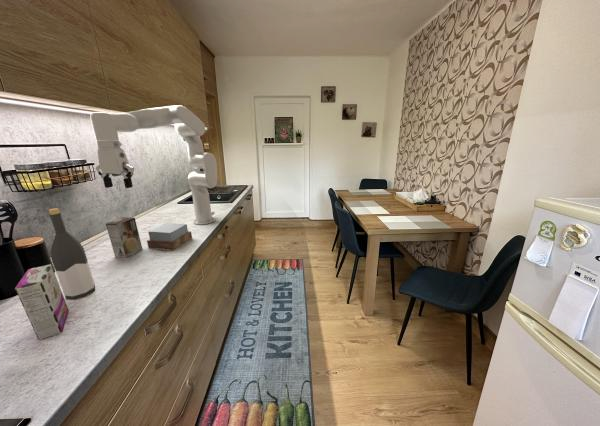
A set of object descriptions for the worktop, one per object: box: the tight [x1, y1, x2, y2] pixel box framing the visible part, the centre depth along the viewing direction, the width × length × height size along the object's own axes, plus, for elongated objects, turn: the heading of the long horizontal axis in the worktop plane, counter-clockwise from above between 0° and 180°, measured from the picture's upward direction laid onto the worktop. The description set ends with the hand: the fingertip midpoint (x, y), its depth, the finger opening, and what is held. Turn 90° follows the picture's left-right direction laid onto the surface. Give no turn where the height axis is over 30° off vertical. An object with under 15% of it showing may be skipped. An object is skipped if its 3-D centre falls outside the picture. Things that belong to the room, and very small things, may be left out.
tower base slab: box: [146, 230, 193, 251], centre depth 121 cm, size 14×14×4 cm
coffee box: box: [105, 216, 143, 259], centre depth 109 cm, size 9×6×16 cm
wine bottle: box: [48, 207, 96, 301], centre depth 78 cm, size 8×8×30 cm
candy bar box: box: [14, 263, 70, 341], centre depth 66 cm, size 11×5×16 cm, turn 35°
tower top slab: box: [148, 222, 189, 242], centre depth 120 cm, size 12×12×4 cm
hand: (119, 187), depth 102 cm, fingers open, 9 cm apart
